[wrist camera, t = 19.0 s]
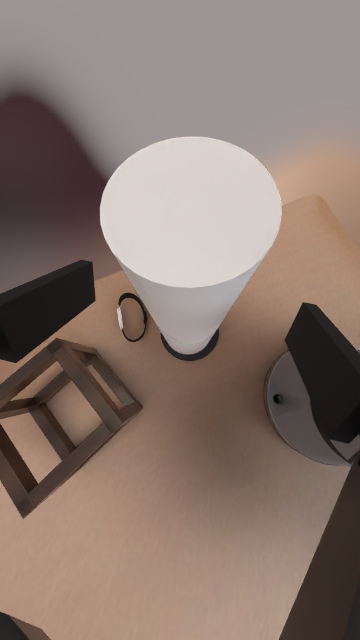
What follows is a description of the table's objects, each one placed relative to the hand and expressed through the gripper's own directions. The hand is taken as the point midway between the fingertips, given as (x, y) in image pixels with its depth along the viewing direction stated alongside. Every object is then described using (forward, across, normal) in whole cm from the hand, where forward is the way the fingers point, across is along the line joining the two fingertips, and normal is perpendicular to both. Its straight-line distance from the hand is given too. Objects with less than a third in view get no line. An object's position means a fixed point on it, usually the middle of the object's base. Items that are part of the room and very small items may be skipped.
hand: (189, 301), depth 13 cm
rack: (+6, -13, -22) cm, 26 cm away
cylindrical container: (+15, 0, -12) cm, 20 cm away
